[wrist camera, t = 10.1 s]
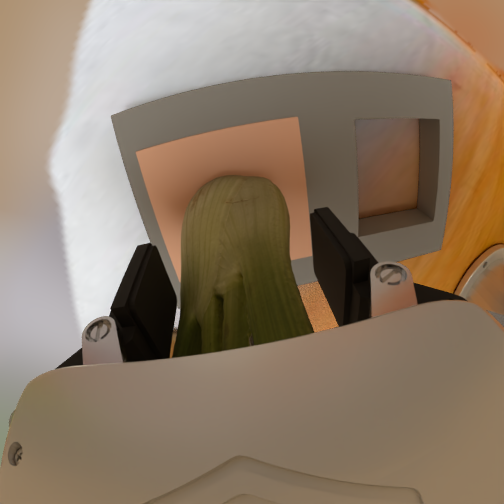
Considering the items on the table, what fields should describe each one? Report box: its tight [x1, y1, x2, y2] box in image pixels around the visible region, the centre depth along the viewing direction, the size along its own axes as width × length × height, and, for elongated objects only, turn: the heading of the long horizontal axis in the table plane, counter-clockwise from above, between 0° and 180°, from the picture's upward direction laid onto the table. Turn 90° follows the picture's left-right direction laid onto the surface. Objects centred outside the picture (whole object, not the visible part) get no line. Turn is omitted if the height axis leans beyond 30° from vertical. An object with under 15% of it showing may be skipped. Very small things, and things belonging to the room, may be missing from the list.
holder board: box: [111, 71, 453, 309], centre depth 17 cm, size 22×14×3 cm, turn 100°
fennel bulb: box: [172, 175, 314, 358], centre depth 11 cm, size 6×5×12 cm
